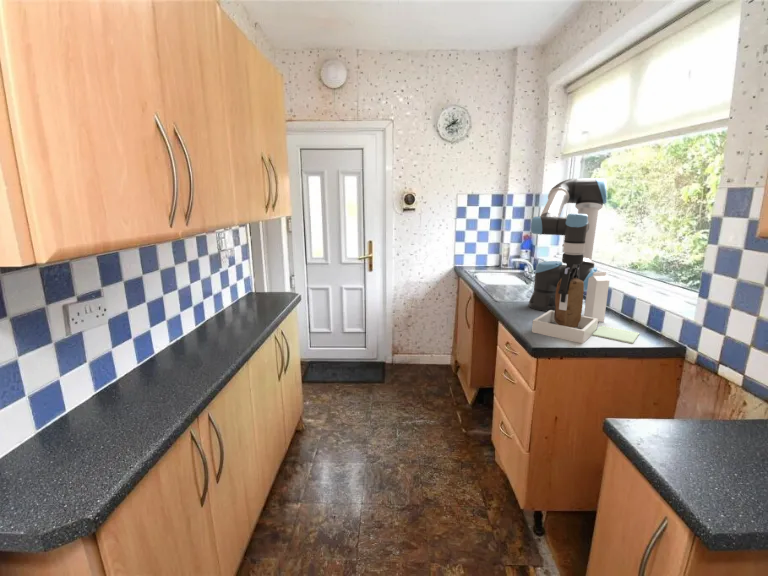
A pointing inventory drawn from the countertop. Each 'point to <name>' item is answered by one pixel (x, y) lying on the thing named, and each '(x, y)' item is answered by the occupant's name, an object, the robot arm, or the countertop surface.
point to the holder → (564, 328)
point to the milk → (597, 296)
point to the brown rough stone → (570, 304)
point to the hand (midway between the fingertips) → (567, 306)
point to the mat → (616, 334)
